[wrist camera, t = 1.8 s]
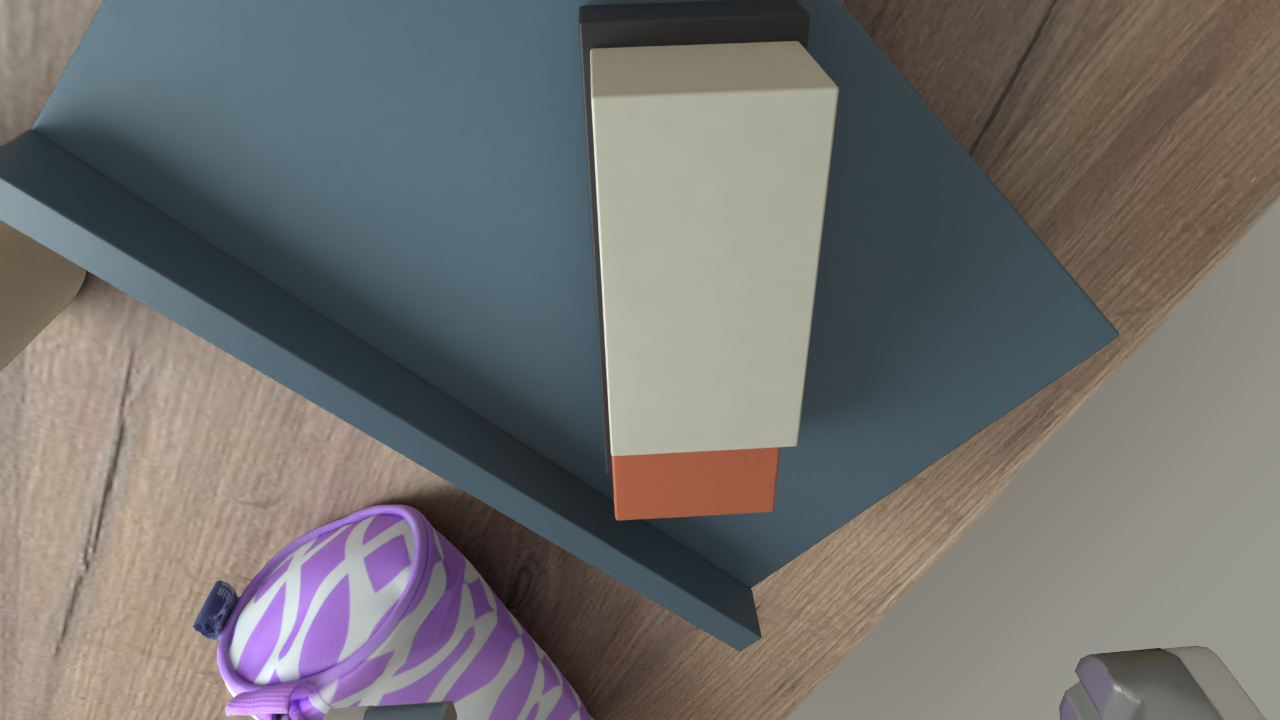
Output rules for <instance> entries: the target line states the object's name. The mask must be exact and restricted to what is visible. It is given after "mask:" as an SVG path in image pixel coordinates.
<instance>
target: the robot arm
mask: <svg viewBox="0 0 1280 720" xmlns="http://www.w3.org/2000/svg"><path fill="white" fill-rule="evenodd" d="M1075 672H1076V674H1077V675H1078V677H1079V679H1080V682H1078V683H1077V684H1075V685H1074V686H1072V687H1071V688H1070V689H1068V690H1067V691H1065V694H1064V696H1063V699H1062V701H1061V704H1060V707H1059V710H1060V720H1266V718H1265V717H1264V716H1263V715H1262V713H1261V712H1260V710H1259V709H1258V708H1257V706H1256V705H1255V704H1254V703H1253V701H1252V700H1251V699H1250V697H1249V696H1248V695H1247V693H1246V692H1245V691H1244V689H1243V688H1242V687H1241V685H1239V683H1238V682H1237V680H1236V679H1235V678H1234V676H1233V675H1232V674H1231V672H1230V671H1229V670H1228V668H1227V667H1226V666H1225V664H1224V663H1223V662H1222V661H1221V659H1220V658H1219V657H1218V656H1217V655H1216V654H1215V653H1214V652H1212V651H1211V650H1209V649H1208V648H1206V647H1200V646H1190V647H1178V648H1165V649H1161V648H1155V649H1145V650H1133V651H1122V652H1111V653H1100V654H1090V655H1088V656H1086V657H1084V658H1081V659H1080V662H1079V663H1078V665H1077V667H1076V669H1075ZM323 720H457V713H456V710H455V707H454V704H453V701H440V702H426V703H412V704H397V705H383V706H372V705H370V706H358V707H346V708H334V709H329V710H328V712H327V714H326V716H325V718H324V719H323Z"/></svg>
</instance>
